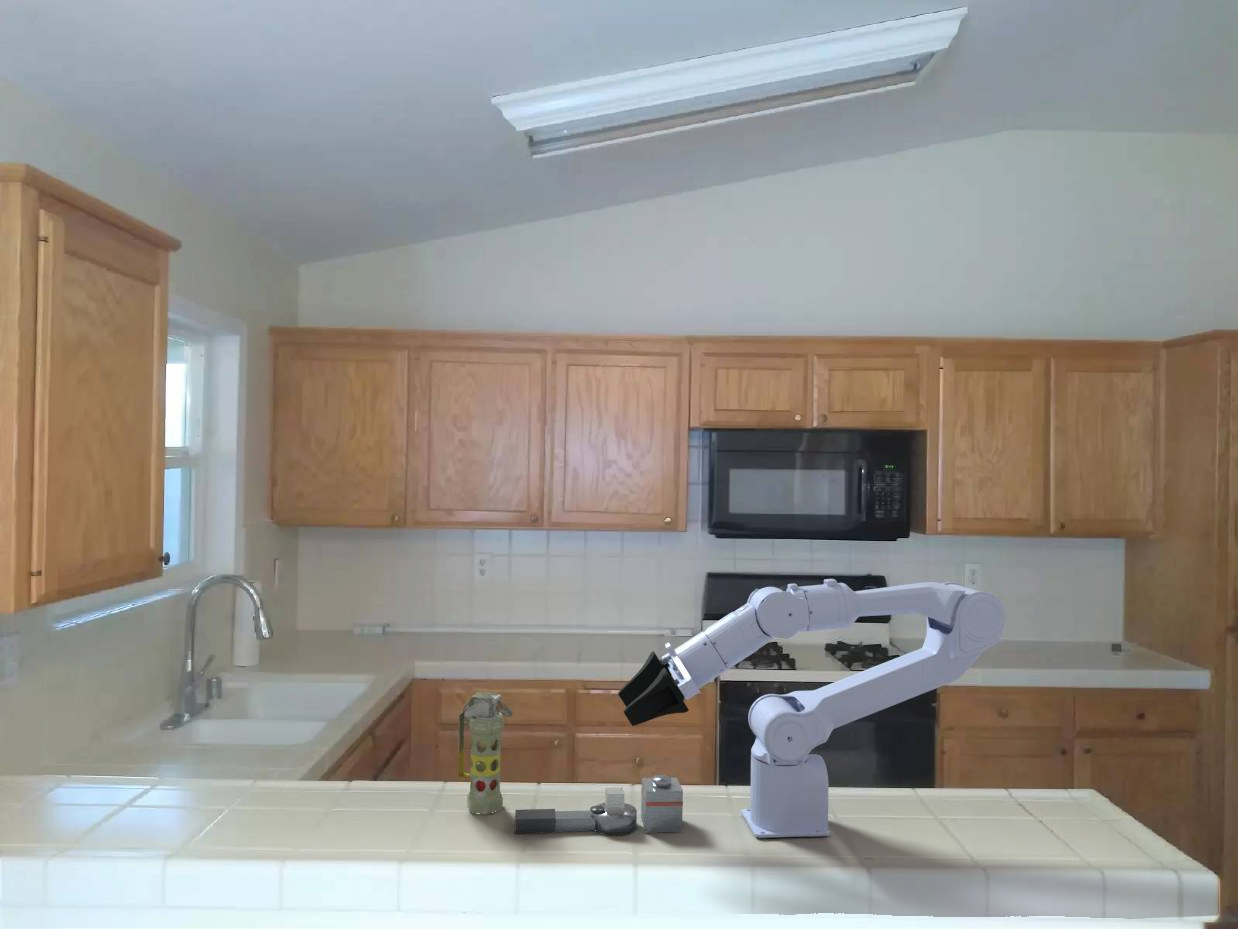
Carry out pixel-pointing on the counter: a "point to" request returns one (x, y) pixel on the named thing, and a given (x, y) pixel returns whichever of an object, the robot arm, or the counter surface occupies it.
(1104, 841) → the counter surface
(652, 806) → the striped cube with knob
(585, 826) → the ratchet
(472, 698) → the grenade
